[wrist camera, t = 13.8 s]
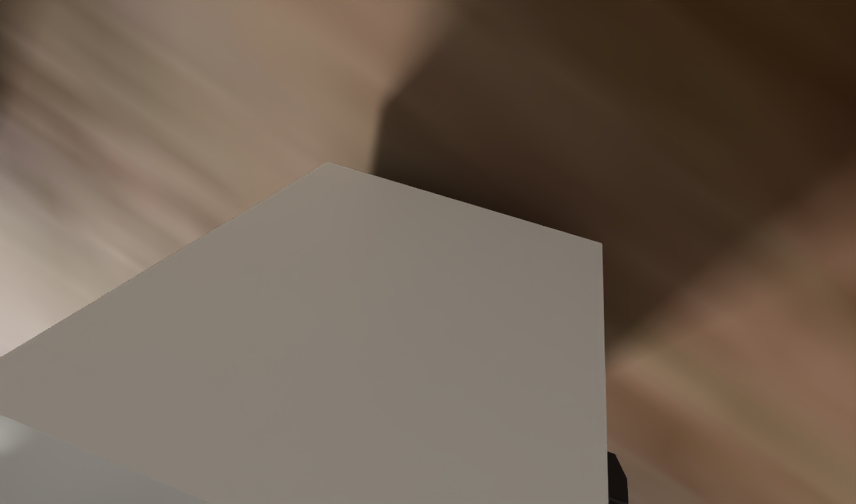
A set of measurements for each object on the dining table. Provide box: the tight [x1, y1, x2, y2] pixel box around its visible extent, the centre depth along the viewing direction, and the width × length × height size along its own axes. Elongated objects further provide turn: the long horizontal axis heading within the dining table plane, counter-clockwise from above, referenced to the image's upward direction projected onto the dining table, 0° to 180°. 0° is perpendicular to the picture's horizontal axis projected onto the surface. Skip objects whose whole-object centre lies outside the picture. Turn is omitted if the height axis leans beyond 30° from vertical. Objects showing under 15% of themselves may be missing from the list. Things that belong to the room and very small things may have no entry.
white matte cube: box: [0, 162, 608, 504], centre depth 10 cm, size 7×7×9 cm
